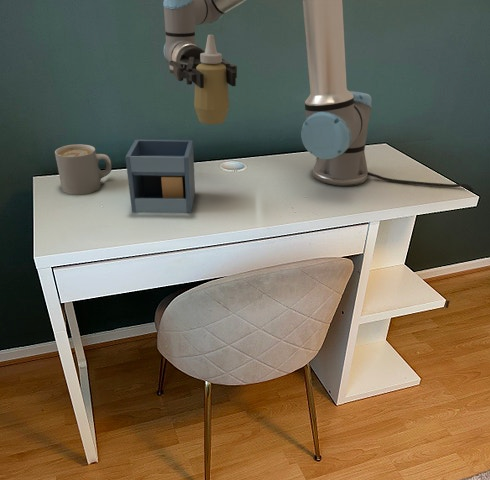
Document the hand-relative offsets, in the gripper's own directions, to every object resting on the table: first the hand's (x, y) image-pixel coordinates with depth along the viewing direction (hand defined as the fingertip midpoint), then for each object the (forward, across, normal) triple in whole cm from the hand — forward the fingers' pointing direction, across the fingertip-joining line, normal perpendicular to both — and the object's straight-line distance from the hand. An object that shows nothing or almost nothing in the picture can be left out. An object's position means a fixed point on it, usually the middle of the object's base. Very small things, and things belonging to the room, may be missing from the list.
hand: (218, 80), depth 106 cm
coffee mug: (-25, +29, -31) cm, 49 cm away
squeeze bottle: (-5, 0, -10) cm, 11 cm away
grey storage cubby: (-7, +12, -30) cm, 33 cm away
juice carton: (-6, +10, -29) cm, 31 cm away
